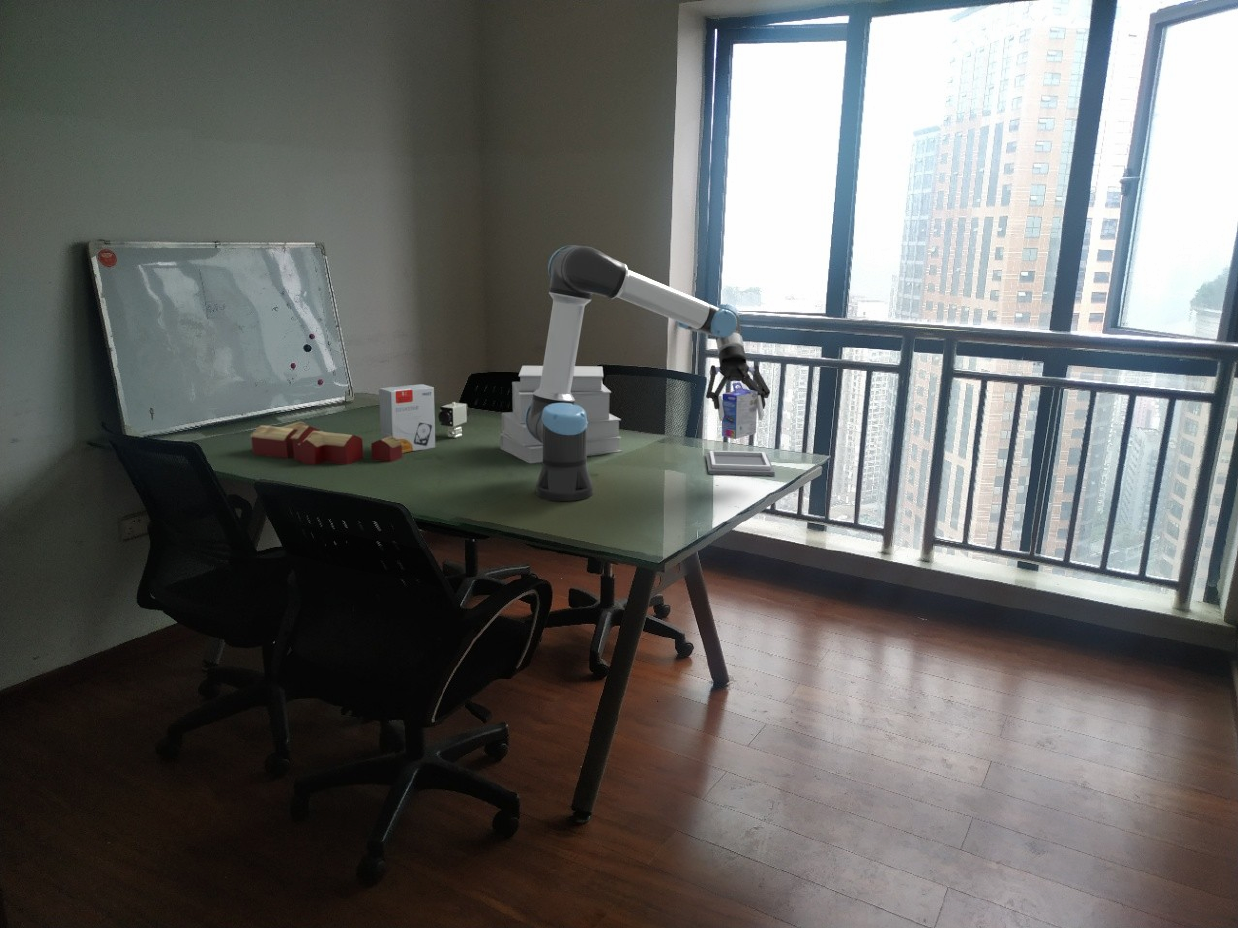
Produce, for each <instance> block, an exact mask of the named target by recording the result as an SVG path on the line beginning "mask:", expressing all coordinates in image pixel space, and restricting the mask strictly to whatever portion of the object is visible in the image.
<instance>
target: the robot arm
mask: <svg viewBox="0 0 1238 928" xmlns="http://www.w3.org/2000/svg"><path fill="white" fill-rule="evenodd" d="M547 268H548V269H547V270H548V271H547V272H548V275H549V276H548V277H549V278H550V284H549V290H548V294H549V295H550V297H551V299H552V308H551V313H550V320H549V326H548V333H547V339H546V344H545V345H546V346H545V353H544V358H543V364H542V366H543V370H542V376H541V383H540V387H539V388H538V389H537V390H536V391H534V392H533V398H532V403H531V404H530V405H529V407H528V408H527V410H526V414H525V423H526V427H527V429H528V431H529V433H530V434H531V435H532V436H533V437H534V438H535V439H536V440H538V441H540V442H541V443H542V444H543V462H542V466H541V469H540V473H539V476H538V479H537V481H536V486H535V490H536V491H535V492H536V496H538V497H540V498H542V499H544V500H547V501H548V500H549V501H555V502H556V501H557V502H558V501H559V502H570V501H571V502H573V501H581V500H584V499H587V498H589V497H591V496H592V495H593V494H594V487H593V482H592V479H591V475H590V473H589V470H588V466H587V456H586V455H587V417H586V412H585V410H584V409H583V408H582V407H580V406H578V405H574V402H575V399H574V397H573V396H572V394H571V386H572V380H573V374H574V368H575V366H576V361H577V355H578V349H579V342H580V336H581V332H582V331H581V330H582V324H583V319H584V313H585V306H587V304H589V303H590V302H592V299H593V298H592V297H593V294H594V295H598V296H602V297H605V298H607V299H610V300H613V299H615V298H619V299H621V300H623V301H625V302H628V303H631V304H633V305H635V306H639V307H641V308H643V309H645V310H648V311H650V312H653V313H655V314H658V315H661V316H664V317H666V318H668V319H671V320H673V321H675V324H676V326H678V328H681V329H684V330H686V331H687V330H688V331H692V332H697V333H699V334H700V333H701V334H705V335H709V336H712V337H714V338H715V342H716V347H717V348H716V349H717V354H718V363H719V366H715V365H711V366H710V368H709V376H710V377H709V381H708V386H707V390H706V394H705V398H706V399H711V402H713V407H714V409H715V410H717V412H718V419H719V422H722V420H723V418H724V410H723V404H722V395H721V393H722V391H723V389H724V387H725V386H726V384H727V383H728V381H729V382H740V383H742V384H744V385H745V386H746V388H748V390H754V391H758V393H757V416H758V417H757V418H758V421H763V419H764V417H765V413H764V409H765V407H766V399H768V398H769V396H770V394H771V390H770V389H769V387H768V385H767V383H766V382H765V380H764V377H763V376H762V374H761V372H760V367H759V365H757V364H756V365H754V366H749V365H748V363H747V358H746V357H747V356H746V353H745V352H746V351H745V345H744V341H743V334H742V329H741V327H742V326H741V319H740V315H739V313H738V310H737V308H736V307H735V306H734V305H733V304H730V303H726V304H724V303H721V304H718V305H713V304H711V303H708V302H706V301H704V300H701V299H699V298H697V297H694V296H692V295H689V294H687V293H685V292H682V291H680V290H677V289H675V288H673V287H671V286H668V285H666V284H664V283H661V282H658V281H656V280H653V279H651V278H649V277H647V276H644V275H642V274H640V273H637V272H634V271H632V270H631V269H629V268H628V266H627V264H626V263H624V262H621V261H619V260H617V259H615V258H613V257H611V256H609V255H607V254H605V253H603V252H601V251H600V250H598V249H596V248H594V247H591V246H586V245H585V246H582V245H578V244H576V245H575V244H571V245H565V246H563V247H560V248H559V249H557V250H555V252H553V254H552V255H551V257H550V259H549V261H548V266H547ZM749 373H750V374H749ZM718 374H721V375H722V376H723V377H722V379H721V380H720V383H719V384H718V386H717V388H716V389H715V391H713V387H714V383H715V379H716V375H718ZM750 375H751V376H752V377H750ZM752 378H753V379H754V380H753V379H752Z"/></svg>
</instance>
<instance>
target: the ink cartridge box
mask: <svg viewBox="0 0 1238 928" xmlns="http://www.w3.org/2000/svg"><path fill="white" fill-rule="evenodd" d="M741 383H742V382H741V381H737V382H733V383H732V384H731V385H732V387H733V390H732V391H727V392H724V393H722V395H721V397H722V404H723V410H724V418H723V420H722V421H721V437H723V438H724V437H725V438H729V439H732V440H737V439H740V438H744V437H749V436H752V435H754V434H755V435H756V434H757V418H758V417H757V416H758V411H757V393H758V391H754V390H750V389H749V388H748V389H747V388H744V387H743V385H742V384H741ZM737 386H739V387H737Z"/></svg>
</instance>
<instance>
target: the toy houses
mask: <svg viewBox="0 0 1238 928" xmlns="http://www.w3.org/2000/svg"><path fill="white" fill-rule="evenodd" d="M250 437H251V446H252V454H253V455H257V456H265V457H266V456H267V457H273V458H282V459H290V458H293V459H294V460H293V461H298V462H301V464H305V465H314V466H316V465H318V464H322V463H332V464H340V465H350V464H352V463H355V462H358V461H360V460H361V461H362V459H364V448H363V438H362V437H360V436H357V435H355V434H349V433H348V434H346V433H338V432H337V433H335V432H330V431H328V432H327V431H323V430H321V429H319V428H316V427H313V426H311V425H308V424H307V423H305V422H303V421H301V420H300V421H297V422H293V423H290V424H286V425H283V426H279V427H278V426H273V425H271V426H270V425H259V426H258V427H257V428H256V429H254V430H253V431H252V433H251V434H250ZM401 443H402V442H401V441H399V440H398V439H396V438H394V437H393V436H389V437H386V438H384V439H381V438H380V439H378V440H377V441H374V442H371V443H369V444H368V445H369V446H371V459H372V461H378V462H385V463H392V462H394V461H397V460H399V459H402V458H403V453H402V444H401ZM403 444H404V443H403Z"/></svg>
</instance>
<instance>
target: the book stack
mask: <svg viewBox="0 0 1238 928" xmlns="http://www.w3.org/2000/svg"><path fill="white" fill-rule="evenodd" d="M603 369H604V368H603V366H595V365H594V366H592V365H591V366H586V365H585V366H583V365H581V366H579V365H577V366H576V365H575V368H574V374H573V380H572V386H571V394H572V396H573V397H574V399H575V402H574V405H578V406H580V407H582V408H583V409H584V410H585V412H586V417H587V455H586V457H590V456H592V457H593V456H597V455H598V456H599V455H605V454H612V453H618V452H622V450H621V449H620V439H622V437H621V436H619V435H620V433H619V432H620V421H622V418H619V417H617V416H615V415H613V414H612V413H610V394H612V391H611V390H610V389H608V387H606V385H604V384H603V378H604V370H603ZM542 370H543V365H522V366H521V369H520V371H519V374H518V377H520V378H519V379H520V380H519V381H512V382H511V385H512V389H511V391H512V395H511V396H512V411H511V412H510V411H509V412H501V431H502V433H499V445H500V446H499V448H500V449H501V450H502V451H504V452H506V453H509V455H512V456H514V457H516V458H518V459H520V460H522V461H524V462H526V463H528V464H538V463H543V444H542V443H541V442H540V441H538V440H536V439H535V438H534V437H533V436H532V435H531V434H530V433H529V431H528V429H527V427H526V423H525V414H526V410H527V408H528V407H529V405H530V404H531V403H532V398H533V392H534V391H536V390H537V389H538V388H539V387H540V383H541V376H542Z"/></svg>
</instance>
